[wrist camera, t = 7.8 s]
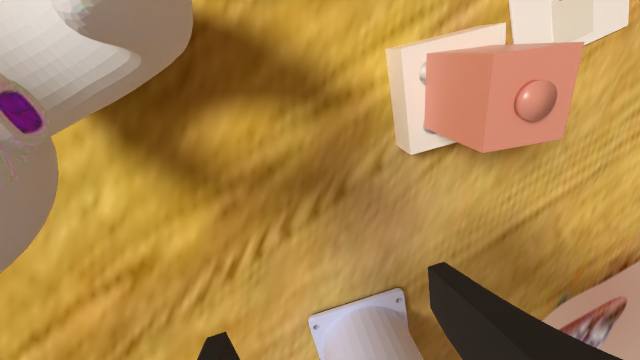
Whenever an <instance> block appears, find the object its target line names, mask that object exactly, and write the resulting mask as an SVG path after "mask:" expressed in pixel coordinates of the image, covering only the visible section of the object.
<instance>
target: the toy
mask: <svg viewBox="0 0 640 360" xmlns="http://www.w3.org/2000/svg"><path fill="white" fill-rule="evenodd" d="M192 28H193V10H192V2H191V0H0V273H1V272H2V271H4V270H5V269H6V268H7V267H8V266H10V265H11V264H12V263H13V262H14V261H15V260H16V259H17V258H18V257H19V256H20V255H21V254H22V253H23V252H24V251H25V250H26V249H27V247H28V246H29V245H30V244H31V242H32V241H33V240H34V238H35V237H36V236H37V234H38V233H39V231H40V230H41V228H42V227H43V225H44V224H45V222H46V220H47V217H48V215H49V213H50V211H51V209H52V207H53V204H54V200H55V196H56V191H57V185H58V174H59V173H58V164H57V156H56V150H55V147H54V144H53V141H52V139H51V136H52V135H54V134H56V133H58V132H59V131H61V130H63V129H65V128H67V127H69V126H70V125H72V124H74V123H76V122H78V121H79V120H81V119H83V118H85V117H87V116H88V115H90V114H92V113H94V112H96V111H98V110H100V109H102V108H104V107H106V106H108V105H110V104H111V103H113V102H115V101H117V100H118V99H120V98H122V97H123V96H125V95H127V94H129V93H130V92H132V91H133V90H135V89H136V88H138V87H140V86H141V85H142V84H144V83H145V82H147V81H148V80H149V79H151V78H152V77H154V76H155V75H157V74H158V73H159V72H161V71H162V70H164V69H165V68H166V67H168V66H169V65H170V64H171V63H172V62H173V61H174V60H175V59H176V58H177V57H178V56H180V55H181V54H182V53H183V51H184V50H185V48H186V47H187V45H188V43H189V40H190V38H191V34H192Z"/></svg>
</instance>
